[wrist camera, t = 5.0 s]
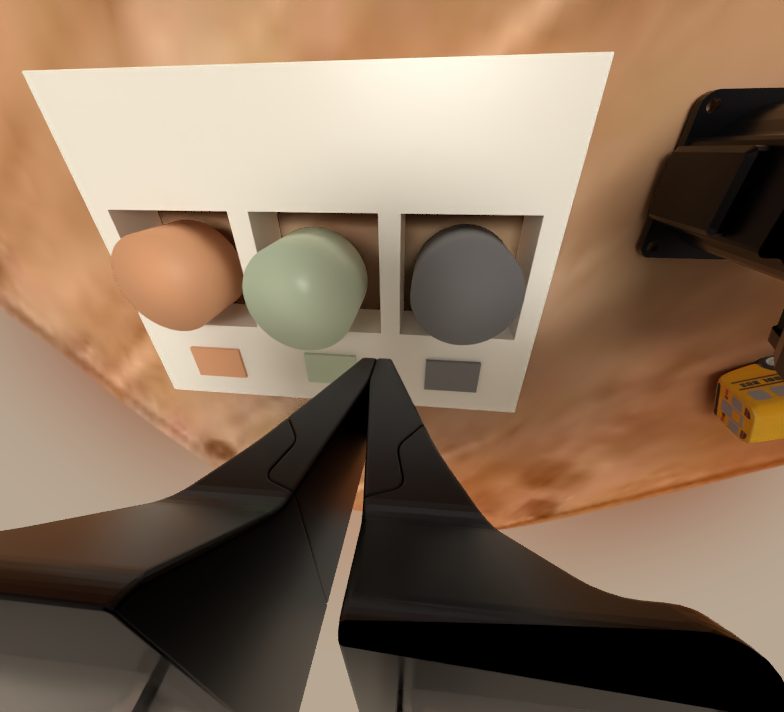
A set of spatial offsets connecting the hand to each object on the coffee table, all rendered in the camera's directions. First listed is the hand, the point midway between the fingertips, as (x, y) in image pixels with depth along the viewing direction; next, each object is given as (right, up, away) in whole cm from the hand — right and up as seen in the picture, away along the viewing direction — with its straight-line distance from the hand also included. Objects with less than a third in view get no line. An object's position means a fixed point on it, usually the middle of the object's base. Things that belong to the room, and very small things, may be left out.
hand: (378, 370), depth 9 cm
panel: (-3, +6, +9) cm, 11 cm away
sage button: (-3, +4, +6) cm, 8 cm away
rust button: (-10, +5, +8) cm, 14 cm away
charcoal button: (+4, +5, +7) cm, 9 cm away
